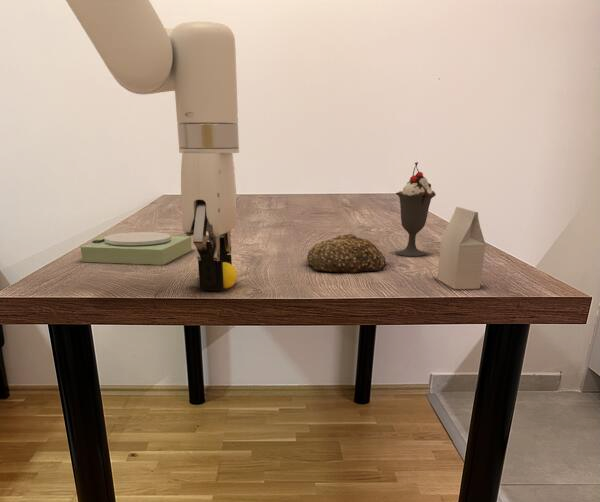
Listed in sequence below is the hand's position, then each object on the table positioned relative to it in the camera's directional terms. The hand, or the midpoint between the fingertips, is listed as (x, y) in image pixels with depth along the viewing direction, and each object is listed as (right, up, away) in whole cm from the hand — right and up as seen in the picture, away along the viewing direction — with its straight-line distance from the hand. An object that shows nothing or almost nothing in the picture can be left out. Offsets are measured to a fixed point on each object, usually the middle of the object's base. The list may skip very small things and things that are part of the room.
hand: (216, 285), depth 88 cm
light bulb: (0, -1, 0) cm, 0 cm away
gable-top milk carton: (+34, +1, +3) cm, 34 cm away
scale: (-16, +10, +22) cm, 29 cm away
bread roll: (+19, +6, +15) cm, 25 cm away
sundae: (+31, +11, +25) cm, 41 cm away
